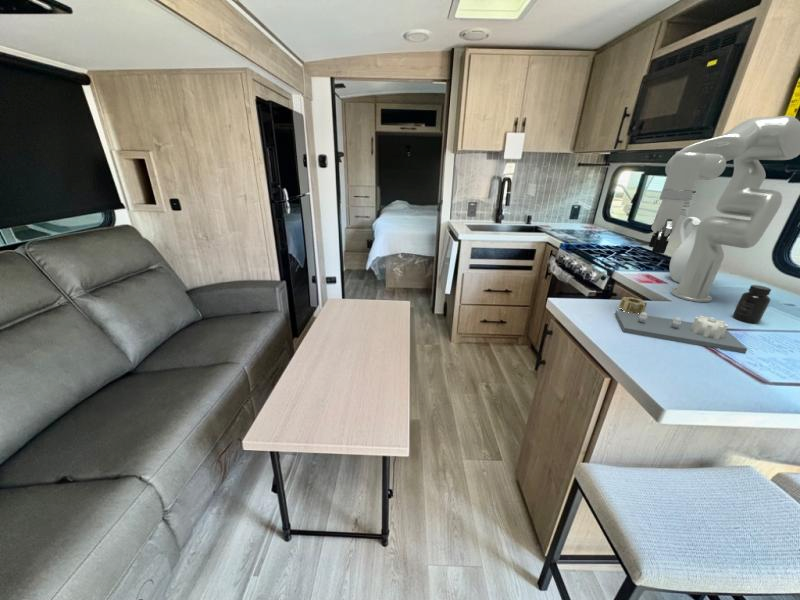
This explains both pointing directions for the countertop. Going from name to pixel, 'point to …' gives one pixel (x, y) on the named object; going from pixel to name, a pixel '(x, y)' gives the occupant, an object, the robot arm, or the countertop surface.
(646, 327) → the gear board
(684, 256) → the pitcher
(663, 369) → the countertop surface
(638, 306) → the brass gear
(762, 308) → the supplement bottle
